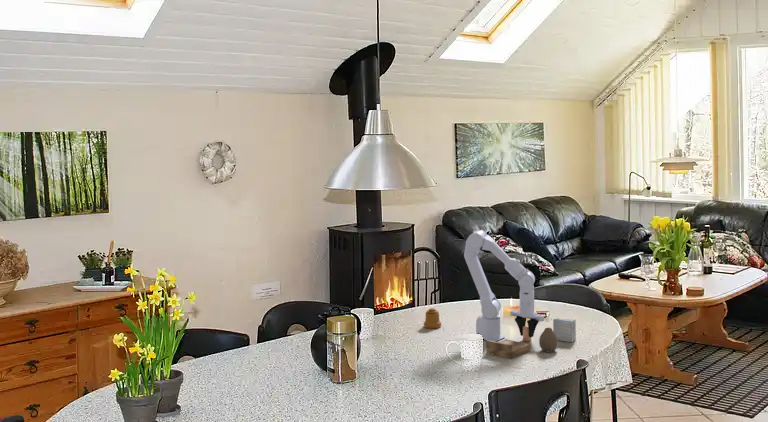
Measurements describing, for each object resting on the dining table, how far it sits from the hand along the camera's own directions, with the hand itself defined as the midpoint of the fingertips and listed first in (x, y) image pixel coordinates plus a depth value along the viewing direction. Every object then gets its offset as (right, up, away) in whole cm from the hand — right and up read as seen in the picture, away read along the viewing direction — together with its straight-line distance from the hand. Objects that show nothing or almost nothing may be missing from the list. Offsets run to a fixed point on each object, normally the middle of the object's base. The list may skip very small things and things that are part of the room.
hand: (527, 336), depth 312 cm
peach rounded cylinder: (0, -2, 0) cm, 2 cm away
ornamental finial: (-36, 0, +24) cm, 44 cm away
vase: (+6, -4, -13) cm, 15 cm away
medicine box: (+15, -2, 0) cm, 15 cm away
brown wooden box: (-10, -4, -14) cm, 17 cm away
